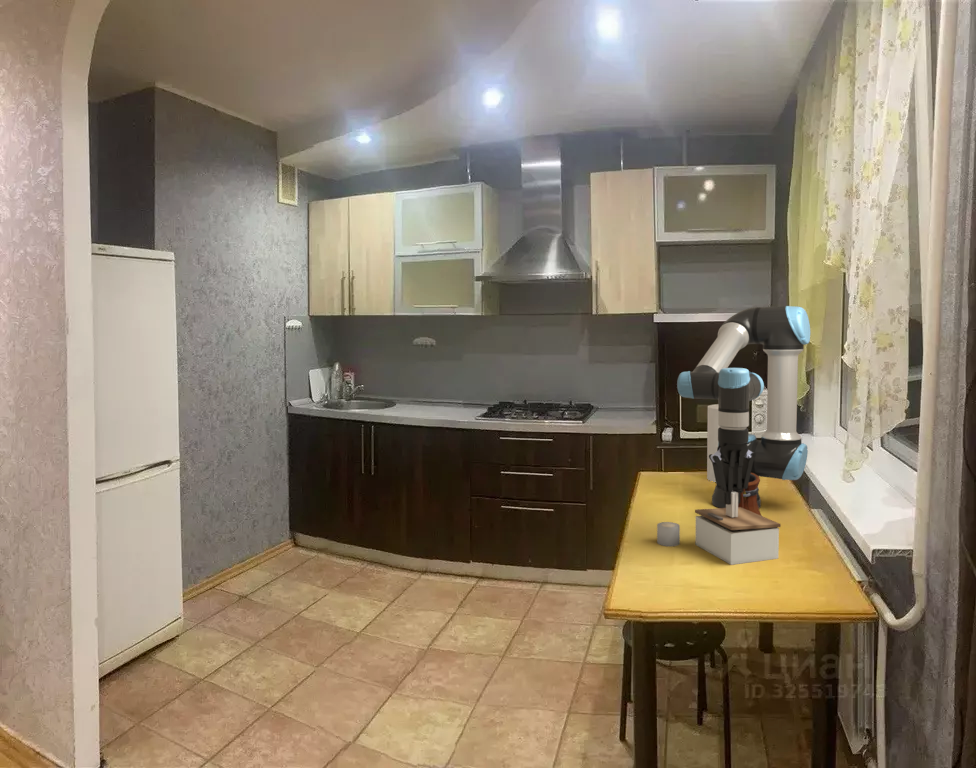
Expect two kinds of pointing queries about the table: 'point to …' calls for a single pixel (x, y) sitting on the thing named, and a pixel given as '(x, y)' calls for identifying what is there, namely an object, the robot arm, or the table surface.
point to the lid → (737, 519)
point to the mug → (750, 495)
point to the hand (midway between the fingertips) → (731, 515)
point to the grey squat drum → (668, 534)
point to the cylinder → (712, 438)
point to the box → (737, 542)
